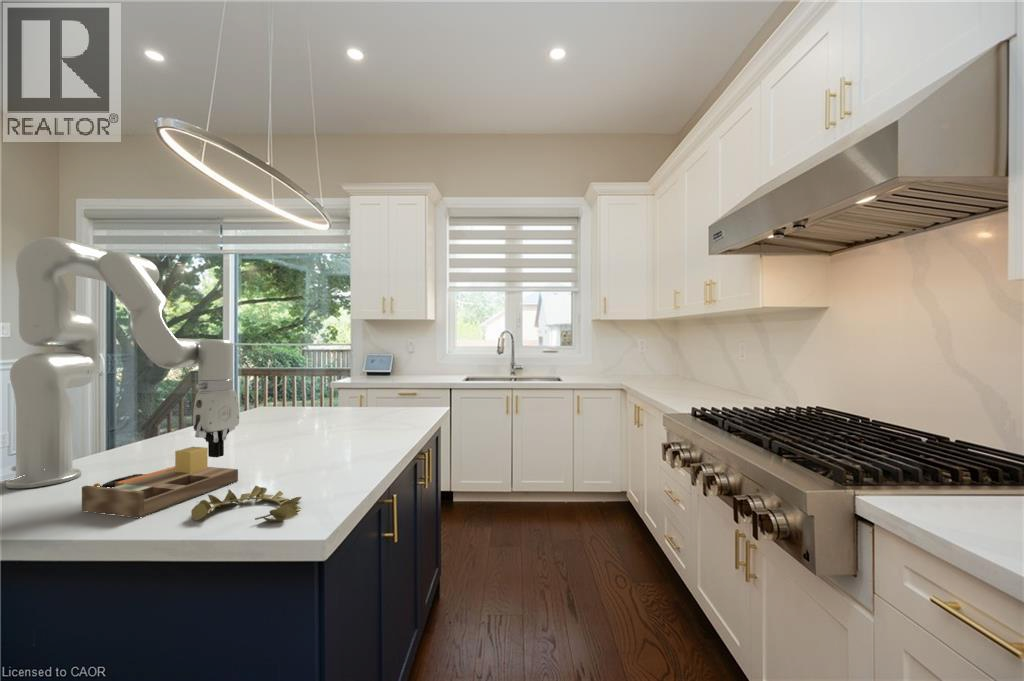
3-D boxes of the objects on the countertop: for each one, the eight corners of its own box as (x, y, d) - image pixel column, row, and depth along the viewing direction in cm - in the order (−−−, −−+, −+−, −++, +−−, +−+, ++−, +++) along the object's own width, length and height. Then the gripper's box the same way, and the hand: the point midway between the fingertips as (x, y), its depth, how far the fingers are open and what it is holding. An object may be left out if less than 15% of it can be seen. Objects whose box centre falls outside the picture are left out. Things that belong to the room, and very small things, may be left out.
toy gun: (162, 464, 117) (187, 465, 113) (162, 472, 117) (188, 473, 113) (91, 481, 102) (118, 483, 99) (92, 491, 102) (119, 493, 99)
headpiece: (285, 534, 81) (323, 506, 96) (287, 512, 81) (325, 488, 96) (177, 522, 82) (231, 497, 97) (179, 500, 82) (233, 478, 97)
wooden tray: (81, 511, 87) (81, 486, 87) (188, 477, 110) (188, 457, 110) (139, 518, 84) (139, 492, 84) (237, 481, 106) (238, 461, 106)
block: (175, 471, 104) (175, 451, 104) (192, 466, 109) (192, 446, 109) (190, 473, 103) (190, 452, 103) (207, 467, 108) (207, 447, 108)
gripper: (201, 389, 105) (201, 465, 105) (251, 383, 120) (251, 450, 119) (176, 389, 107) (176, 463, 107) (228, 383, 121) (228, 448, 121)
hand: (216, 456), depth 113 cm, fingers closed
